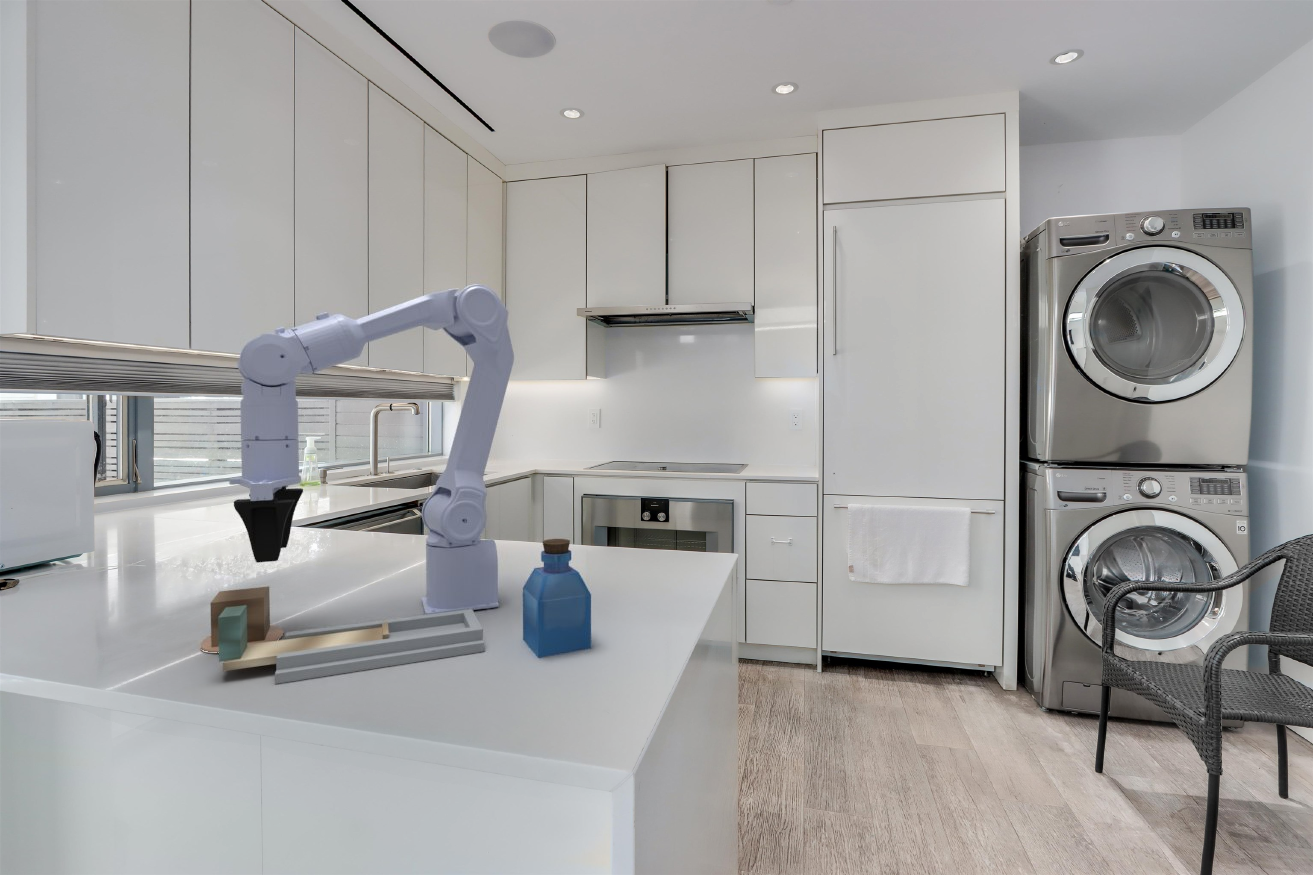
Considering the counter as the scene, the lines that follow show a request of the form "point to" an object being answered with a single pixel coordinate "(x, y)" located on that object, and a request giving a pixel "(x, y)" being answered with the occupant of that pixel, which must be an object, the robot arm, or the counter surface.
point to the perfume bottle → (556, 604)
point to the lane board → (384, 645)
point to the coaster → (272, 635)
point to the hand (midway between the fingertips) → (272, 554)
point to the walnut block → (256, 611)
